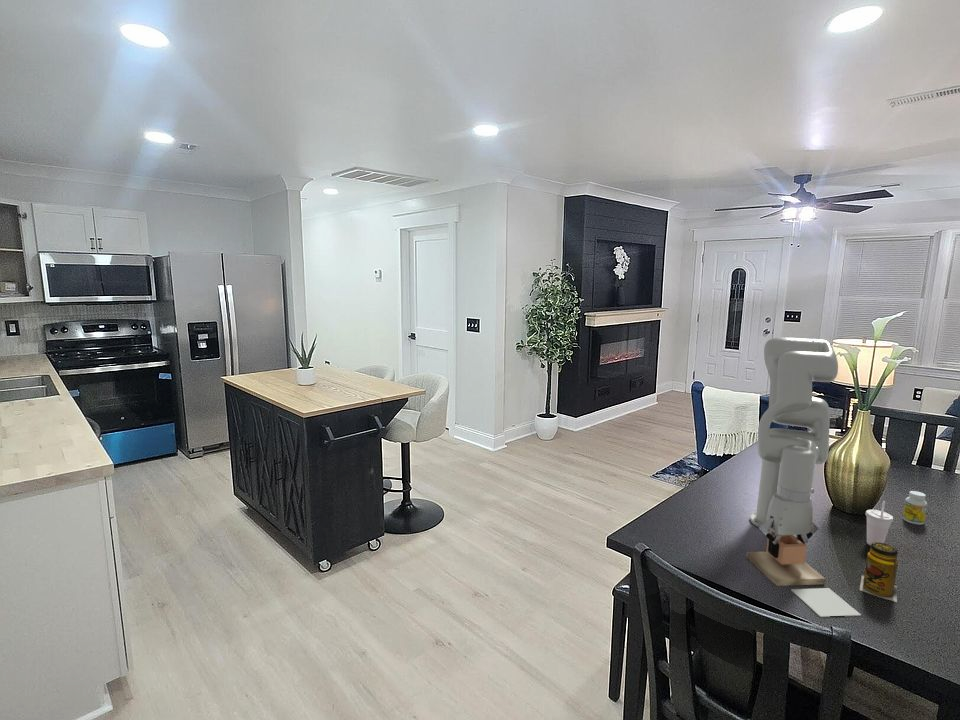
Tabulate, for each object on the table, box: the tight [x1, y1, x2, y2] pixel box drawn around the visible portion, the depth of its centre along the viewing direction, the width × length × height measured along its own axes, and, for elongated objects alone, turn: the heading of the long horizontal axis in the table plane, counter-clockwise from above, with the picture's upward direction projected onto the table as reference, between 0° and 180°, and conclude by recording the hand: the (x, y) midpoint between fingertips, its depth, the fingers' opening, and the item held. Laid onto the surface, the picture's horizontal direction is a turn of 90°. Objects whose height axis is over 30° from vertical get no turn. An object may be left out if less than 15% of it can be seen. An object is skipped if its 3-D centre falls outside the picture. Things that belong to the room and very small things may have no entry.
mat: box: [790, 587, 862, 618], centre depth 121 cm, size 10×10×1 cm
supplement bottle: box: [902, 490, 928, 526], centre depth 161 cm, size 5×5×10 cm
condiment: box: [859, 542, 899, 603], centre depth 126 cm, size 7×8×12 cm
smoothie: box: [865, 500, 894, 547], centre depth 146 cm, size 6×6×14 cm
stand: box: [745, 550, 826, 587], centre depth 134 cm, size 13×13×7 cm
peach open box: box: [765, 534, 808, 564], centre depth 134 cm, size 6×6×5 cm
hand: (785, 553), depth 134 cm, fingers closed on peach open box, 6 cm apart
